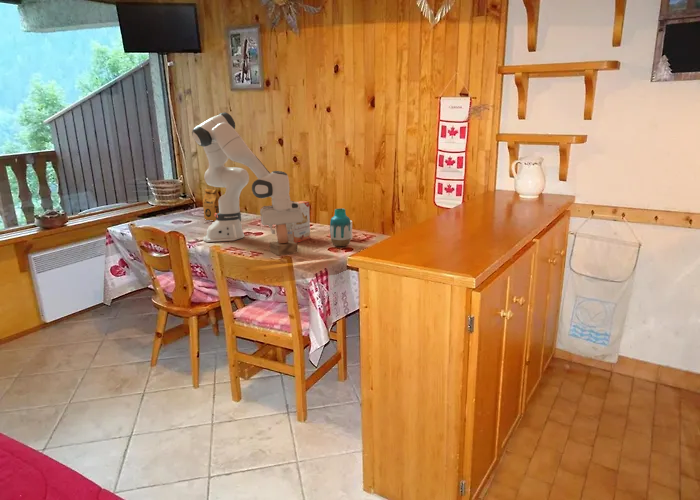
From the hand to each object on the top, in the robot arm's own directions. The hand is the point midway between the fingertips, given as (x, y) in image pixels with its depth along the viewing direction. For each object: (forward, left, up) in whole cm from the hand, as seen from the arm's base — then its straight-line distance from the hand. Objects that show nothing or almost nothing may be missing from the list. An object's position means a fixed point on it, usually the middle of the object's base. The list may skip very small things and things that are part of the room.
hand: (282, 232), depth 251 cm
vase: (+30, 0, -10) cm, 32 cm away
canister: (0, 0, -5) cm, 5 cm away
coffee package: (-24, +96, -10) cm, 99 cm away
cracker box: (+13, +21, -10) cm, 27 cm away
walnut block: (0, 0, -10) cm, 10 cm away
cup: (+35, +13, -10) cm, 39 cm away
